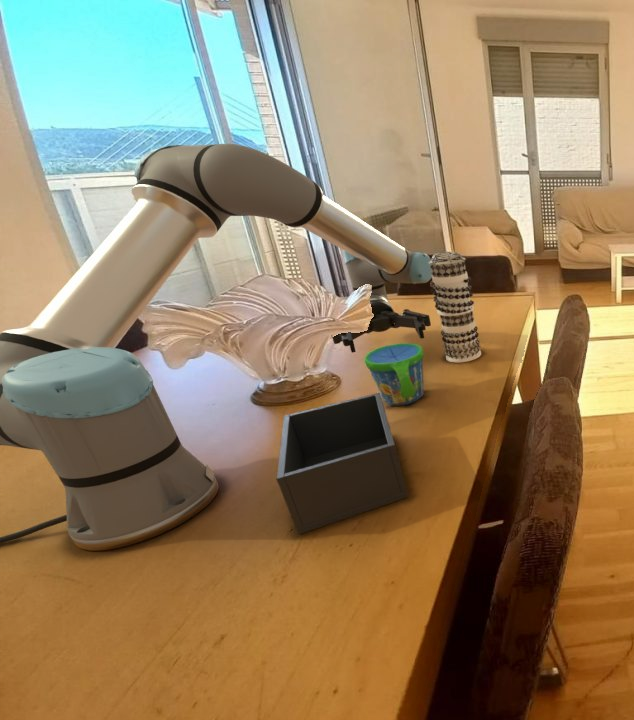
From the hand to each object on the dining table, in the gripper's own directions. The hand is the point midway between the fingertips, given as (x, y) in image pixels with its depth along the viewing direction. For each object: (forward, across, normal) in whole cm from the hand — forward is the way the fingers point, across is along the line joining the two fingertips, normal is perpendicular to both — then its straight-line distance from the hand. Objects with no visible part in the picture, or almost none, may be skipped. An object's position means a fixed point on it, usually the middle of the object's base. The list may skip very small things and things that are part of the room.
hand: (387, 339), depth 100 cm
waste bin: (+34, +11, -10) cm, 37 cm away
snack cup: (+10, 0, -10) cm, 14 cm away
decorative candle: (-6, -16, -10) cm, 20 cm away
